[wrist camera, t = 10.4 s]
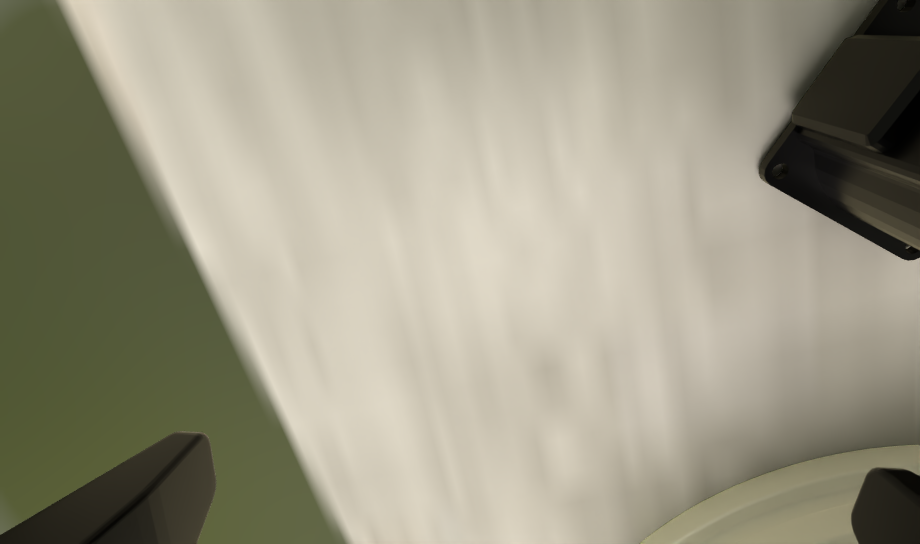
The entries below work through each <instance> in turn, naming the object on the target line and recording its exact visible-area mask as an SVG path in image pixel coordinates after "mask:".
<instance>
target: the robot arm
mask: <svg viewBox="0 0 920 544" xmlns="http://www.w3.org/2000/svg"><path fill="white" fill-rule="evenodd" d="M897 2H898V0H879V2H878V3H877V4H876V6H875V7H874V9H873V10H872V11H871V13H870V14H869V15H868V17H867V18H866V20H865V21H864V22H863V24H862V25H861V26H860V28H859V29H858V31H857V32H856V33H855V35H854V36H853V37H849V38H846V39H845V40H844V41H843V43H842V44H841V45H840V47H839V48H838V50H837V51H836V52H835V54H834V55H833V56H832V58H831V59H830V61H829V62H828V63H827V65H826V66H825V67H824V69H823V70H822V72H821V73H820V74H819V76H818V77H817V79H816V80H815V81H814V83H813V84H812V85H811V87H810V88H809V90H808V91H807V92H806V94H805V95H804V96H803V98H802V99H801V101H800V102H799V103H798V105H797V106H796V108H795V109H794V110H793V112H792V121H791V123H790V124H789V125H788V127H787V128H786V129H785V131H784V132H783V134H782V135H781V136H780V138H779V139H778V140H777V142H776V143H775V145H774V146H773V147H772V149H771V150H770V151H769V153H768V154H767V156H766V157H765V158H764V160H763V161H762V163H761V165H760V167H759V175H760V178H761V179H762V180H763V181H764V182H766V183H767V184H769V185H771V186H773V187H775V188H776V189H778V190H780V191H782V192H784V193H785V194H787V195H789V196H791V197H793V198H794V199H796V200H798V201H800V202H801V203H803V204H805V205H807V206H809V207H810V208H812V209H814V210H816V211H818V212H819V213H821V214H823V215H825V216H827V217H828V218H830V219H832V220H834V221H836V222H837V223H839V224H841V225H843V226H844V227H846V228H848V229H850V230H852V231H853V232H855V233H857V234H859V235H861V236H862V237H864V238H866V239H868V240H870V241H871V242H873V243H875V244H877V245H879V246H880V247H882V248H884V249H886V250H887V251H889V252H891V253H893V254H895V255H896V256H898V257H900V258H902V259H904V260H915V259H917V258H920V0H907V3H906V5H905V7H904V8H903V9H902V10H901V11H899V9H898V8H897ZM781 163H782V166H783V169H782V171H781V173H780V174H778V175H777V176H772V171H773V168H774V167H775V166H776V165H778V164H781ZM907 244H909V245H910V246H911V247H909V248H908V249H906V245H907ZM215 490H216V475H215V469H214V463H213V457H212V451H211V445H210V441H209V438H208V436H207V435H206V434H204V433H201V432H184V431H179V432H174V433H172V434H170V435H168V436H167V437H165V438H163V439H162V440H160V441H158V442H157V443H155V444H153V445H152V446H150V447H148V448H146V449H145V450H143V451H141V452H140V453H138V454H136V455H135V456H133V457H131V458H130V459H128V460H126V461H125V462H123V463H121V464H120V465H118V466H116V467H114V468H113V469H111V470H109V471H108V472H106V473H104V474H103V475H101V476H99V477H97V478H96V479H94V480H92V481H91V482H89V483H87V484H86V485H84V486H83V487H81V488H79V489H77V490H76V491H74V492H72V493H70V494H69V495H67V496H65V497H64V498H62V499H60V500H59V501H57V502H55V503H54V504H52V505H50V506H48V507H47V508H45V509H43V510H42V511H40V512H38V513H37V514H35V515H33V516H32V517H30V518H29V519H27V520H25V521H23V522H22V523H20V524H18V525H16V526H15V527H13V528H11V529H10V530H8V531H6V532H5V533H3V534H1V535H0V544H197V542H198V539H199V536H200V533H201V531H202V528H203V525H204V522H205V519H206V517H207V514H208V512H209V509H210V506H211V503H212V501H213V498H214V494H215ZM851 525H852V529H853V532H854V535H855V537H856V539H857V541H858V544H920V476H919V475H917V474H915V473H913V472H911V471H909V470H906V469H902V468H885V467H876V468H872V469H871V470H870V471H869V472H868V473H867V474H866V476H865V479H864V481H863V484H862V486H861V489H860V491H859V494H858V496H857V499H856V502H855V504H854V507H853V509H852V513H851Z"/></svg>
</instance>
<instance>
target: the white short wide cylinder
mask: <svg viewBox="0 0 920 544" xmlns="http://www.w3.org/2000/svg"><path fill="white" fill-rule="evenodd" d="M876 467H885V468H902V469H906V470H909V471H911V472H913V473H915V474H917V475H919V476H920V445H902V446H889V447H880V448H871V449H864V450H857V451H851V452H845V453H840V454H835V455H830V456H826V457H821V458H817V459H813V460H809V461H805V462H801V463H797V464H794V465H791V466H787V467H784V468H781V469H778V470H775V471H772V472H769V473H766V474H763V475H760V476H758V477H755V478H753V479H750V480H747V481H745V482H743V483H740V484H738V485H735V486H733V487H731V488H729V489H727V490H724V491H722V492H720V493H718V494H716V495H714V496H712V497H710V498H708V499H706V500H704V501H702V502H700V503H699V504H697V505H695V506H693V507H692V508H690V509H688V510H686V511H685V512H683V513H682V514H680V515H678V516H677V517H675V518H674V519H672V520H671V521H669V522H668V523H666V524H665V525H663V526H662V527H660V528H659V529H658V530H656V531H655V532H654V533H652V534H651V535H650V536H648V537H647V538H646V539H645V540H643V541H642V542H641V543H640V544H858V541H857V539H856V537H855V535H854V532H853V529H852V525H851V513H852V509H853V507H854V504H855V502H856V499H857V496H858V494H859V491H860V489H861V486H862V484H863V481H864V479H865V476H866V474H867V473H868V472H869V471H870V470H871V469H872V468H876Z"/></svg>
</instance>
